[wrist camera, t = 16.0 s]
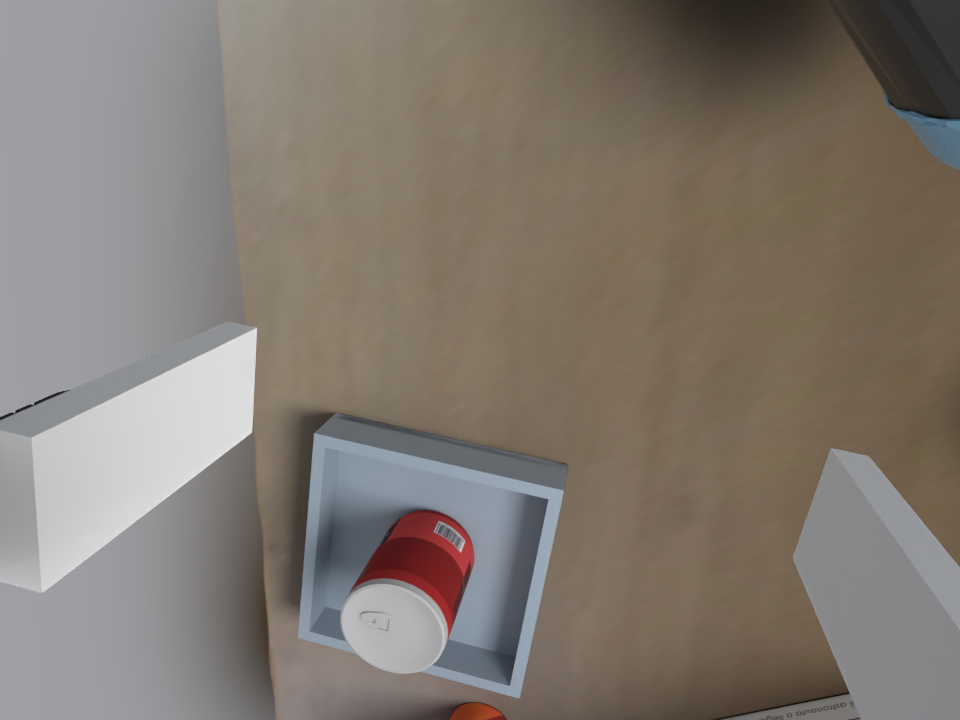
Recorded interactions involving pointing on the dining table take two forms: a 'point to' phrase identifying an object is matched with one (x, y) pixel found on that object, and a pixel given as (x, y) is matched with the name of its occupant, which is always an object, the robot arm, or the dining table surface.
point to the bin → (446, 489)
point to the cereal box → (809, 711)
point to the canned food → (409, 593)
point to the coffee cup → (476, 712)
